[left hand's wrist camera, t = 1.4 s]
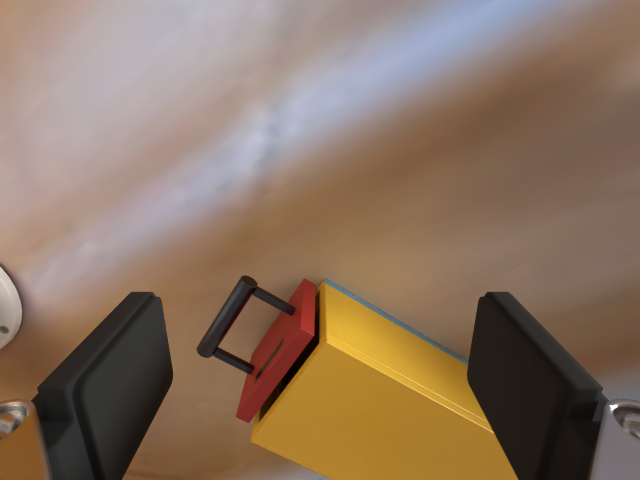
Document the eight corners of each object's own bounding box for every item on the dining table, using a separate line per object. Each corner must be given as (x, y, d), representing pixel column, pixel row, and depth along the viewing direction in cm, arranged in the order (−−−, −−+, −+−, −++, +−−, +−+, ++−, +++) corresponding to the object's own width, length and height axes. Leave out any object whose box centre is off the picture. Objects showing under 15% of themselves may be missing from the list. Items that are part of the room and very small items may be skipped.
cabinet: (266, 359, 39) (249, 442, 29) (324, 278, 36) (326, 341, 26) (425, 441, 43) (455, 537, 33) (490, 374, 39) (543, 459, 30)
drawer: (205, 329, 36) (175, 388, 29) (254, 249, 34) (236, 292, 26) (408, 434, 41) (428, 508, 33) (467, 371, 38) (503, 438, 31)
